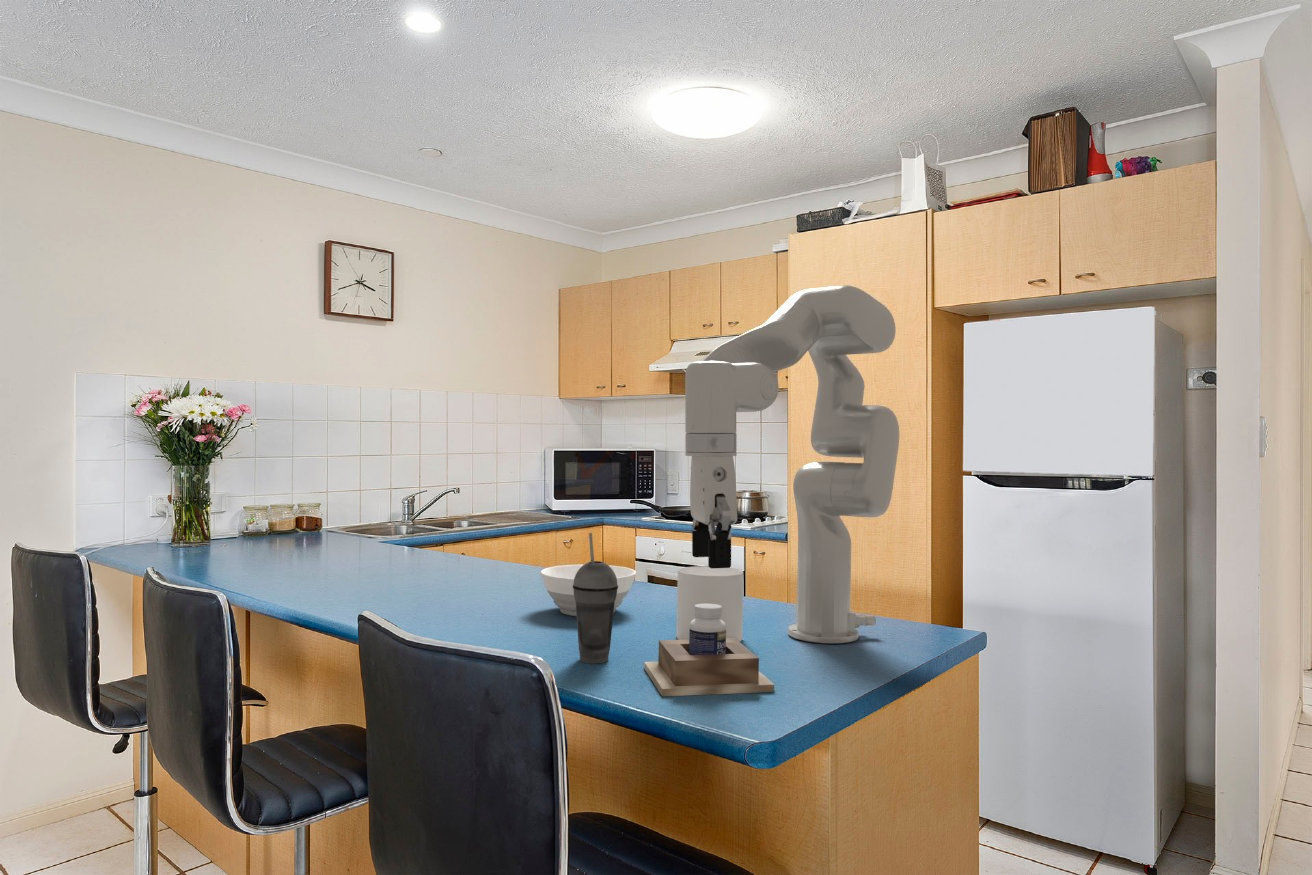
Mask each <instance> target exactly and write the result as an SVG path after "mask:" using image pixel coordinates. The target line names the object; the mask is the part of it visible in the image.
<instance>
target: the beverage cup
mask: <svg viewBox="0 0 1312 875" xmlns="http://www.w3.org/2000/svg"><path fill="white" fill-rule="evenodd" d="M588 539H589V540H588V542H589V551H590V552H589V554H590V561H588V562H586V563H584V565H583V566H582V567H581V568H580V569H579V570H578V572H577V573H576V575H575V578H574V585H573V589H574V598H575V600H576V614H577V616H576V625H577V626H576V627H577V642H578V651H579V661H580V662H582V663H586V664H603V663H607V662H608V661H609V656H610V651H611V641H612V631H613V622H614V621H613V620H614V613H615V612H614V604H615V600H616V596H617V589H618V585H617V578H616V575H615V573H614V571H613V570H612V568H611V567H610V566H609V564H607V563H606V562H604V561H600V560H599V561H597V560H596V561H595V554H594V540H593V533H592V532H589V533H588Z"/></svg>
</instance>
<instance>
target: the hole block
mask: <svg viewBox="0 0 1312 875" xmlns="http://www.w3.org/2000/svg"><path fill="white" fill-rule="evenodd" d="M643 664H644V665H643V666H644V668H643V669H644V670H645V672H646V673H647V675H648V677H649V678H650V679H651V681H652V683H653V685H654V686H655V688H656V689H657V690H658V692H659V693H660V695H661V696H662V697H679V696H683V697H684V696H705V695H727V694H730V695H731V694H753V693H756V694H757V693H770V692H771V693H775V683H773V681H771V680H770V679H769V678H768V677H767V676H766V675H764V674H763V673H762V672H761V671H760V668H759V667H760V658H759V657H758V656H757V655H755V654H754V652H752V651H751V650H750V649H749V648H747V647H746V646H745V645H744V644H743V643H742V642H739V641H738V640H736V639H735V638H726V654H715V655H689V639H683V640H679V639H659V640H658V660H657V661H656V660H655V661H644V663H643Z"/></svg>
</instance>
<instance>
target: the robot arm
mask: <svg viewBox="0 0 1312 875" xmlns="http://www.w3.org/2000/svg"><path fill="white" fill-rule="evenodd" d="M896 329H897V328H896V322H895V319H894V317H893V314H892V312H891V311H890V309H889V308H887V307H886V306H885V304H883V303H882V302H880V301H879V300H877V299H876V298H874V297H873V296H871V294H869V293H867V291H864V290H862V289H860V288H858V287H856V286H852V285H849V284H847V285H846V284H845V285H844V284H843V285H835V286H834V285H833V286H827V287H826V286H824V287H815V288H808V289H803V290H800V291H798V292H796V293H794V294H793V295H791V296H790V297H789V298H788V299H787V300H786V301H785V302H784V303H783V304H782V305H781V306H780V307H778V309H777V310H776V311H775V312H774V313H773V314H772V315H771V316H770V317H769V318H768V319H767V320H766V321H765V322H764V323H763V324H762V325H760V326H757V327H755V328H753V329H751V330H748V331H747V332H744V333H743V334H742V333H741V335H739V336H736V337H734V338H732V339H730V340H728V341H726V342H724V343H722V344H720V345H718V346H717V347H716V348H714V349H713V350H711V351H710V352H709V353H707V354H706V355H705V357H703V358H702V359H701V360H700V361H694V362H691V363H689V364H688V365H687V367H686V370H685V374H684V375H685V380H684V381H685V388H684V389H685V390H684V391H685V394H684V396H685V399H684V400H685V404H684V405H685V406H684V407H685V412H684V413H685V416H684V418H685V419H684V420H685V421H684V422H685V423H684V424H685V428H684V429H685V430H684V431H685V439H684V440H685V441H684V442H685V443H684V444H685V446H684V447H685V449H684V450H685V453H684V454H685V456H687V457H691V460H690V463H691V464H690V485H689V486H690V487H689V490H690V491H689V503H690V515H691V517H692V519H693V520H692V525H691V528H692V533H691V536H692V537H691V543H692V544H691V547H692V548H691V550H692V551H691V555H692V556H693V557H694V558H707V559H708V564H707V566H709V567H710V568H732V567H731V566H732V530H731V529H732V526H733V525H735V524H736V523H737V522H738V502H737V500H738V499H737V481H736V480H737V479H736V468H735V461H734V457H737V455H738V454H737V452H738V451H737V444H738V443H737V440H738V439H737V413H754V412H755V413H756V412H761V411H764V410H766V409H767V408H769V407H771V406H772V405H773V403H775V401H776V399H777V397H778V395H779V394H778V393H779V388H780V387H779V381H778V377H777V375H776V374H775V373H776V372H779V371H782V370H784V369H788V368H790V367H793V366H795V365H796V364H798V363H799V361H801V360H802V359H803V357H804V356H805V355H806V353H807V352H808V355H809V356H810V358H811V361H812V363H813V366H814V368H815V371H816V375H817V392H816V400H815V404H814V412H813V419H812V424H811V430H810V444H811V447H812V449H813V450H814V451H815V453H817V454H819V455H822V456H824V457H835V458H855V459H856V458H858V459H859V458H860V459H863V462H845V461H844V462H842V461H814V462H810V463H809V462H808V463H806V464H804V465H802V466H801V467H800V468H799V469H797V471H796V473H795V475H794V477H793V482H792V483H793V484H792V487H793V498H794V502H795V509H796V515H797V516H796V518H797V576H796V577H797V582H796V583H797V587H796V588H797V590H796V623H794V624H791V625H789V626H788V627H787V633H788V634H787V635H788V636H790V637H792V638H793V639H796V640H800V641H804V642H809V643H818V644H847V643H851V642H855V641H857V640H858V639H859V637H860V636H859V635H860V632H859V630H857V629H859V628H860V627H862V626H863V627H864V626H865V627H875V626H876V624H877V619H876V618H877V617H876V616H875V615H874V614H873V615H872V614H871V615H870V614H867V615H866V614H865V615H863V614H862V613H861V614H860V613H856V612H853V610H851V595H852V594H851V589H852V588H851V586H852V585H851V583H852V582H851V581H852V578H851V577H852V574H851V573H852V538H851V536H850V533H849V530H848V528H847V526H846V524H845V523H844V521H843V520H842V518H841V517H856V518H878V517H881V516H883V515H884V514H885V513H886V512H887V511H888V508H889V507H890V504H891V501H892V497H893V496H892V495H893V490H894V482H895V481H894V480H895V474H896V468H897V460H898V452H899V447H900V446H899V444H900V424H899V422H898V418H897V416H896V414H895V412H894V411H893V410H892V409H891V408H889V407H887V406H885V405H878V404H875V405H873V404H865V405H863V402H864V394H865V381H864V378H863V376H862V374H861V373H860V370H858V368H857V367H856V366H855V365H854V363H853V362H852V361H851V360H850V358H849V357H848V355H865V354H879V353H882V352H885V351H887V350H889V348H890V347H891V346H892V345H893V343H894V341H895V336H896V332H897V331H896Z"/></svg>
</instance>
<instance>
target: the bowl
mask: <svg viewBox="0 0 1312 875" xmlns="http://www.w3.org/2000/svg"><path fill="white" fill-rule="evenodd" d="M584 564H585V563H584ZM584 564H581V563H580V564H566V565H565V564H564V565H554V566H549V567H546V568H543V569H541V570H540V575H541V579H542V582H543V584H544V588H545V589H546V592H547V593H548V595H549V596H550V597H551V598H552V600H553V603H554V605H556V607H558V608H559V612H561V613H562V614H564V615H567V616H571V617H577V614H576V600H575V598H574V589H573V585H574V578H575V575H576V573H577V572H578V570H579V569H580V568H581V567H582V566H583V565H584ZM608 565H609V564H608ZM609 566H610V567H611V568H612V570H613V571H614V573H615V575H616V578H617V585H618V589H617V596H616V600H615V604H614V613H615V612H616V610H617V609H616V608H619V607H620V606H621V605H622V603H623V600H624V599H625V598H626V597H627V595H628V594H629V592H630V590H631V588H632V585H633V584H634V580H635V578H636V575H637V571H636V570H635V569H632V568H630V567H625V566H619V565H609Z"/></svg>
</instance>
